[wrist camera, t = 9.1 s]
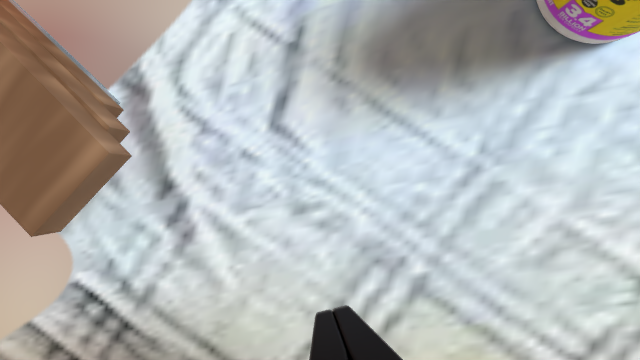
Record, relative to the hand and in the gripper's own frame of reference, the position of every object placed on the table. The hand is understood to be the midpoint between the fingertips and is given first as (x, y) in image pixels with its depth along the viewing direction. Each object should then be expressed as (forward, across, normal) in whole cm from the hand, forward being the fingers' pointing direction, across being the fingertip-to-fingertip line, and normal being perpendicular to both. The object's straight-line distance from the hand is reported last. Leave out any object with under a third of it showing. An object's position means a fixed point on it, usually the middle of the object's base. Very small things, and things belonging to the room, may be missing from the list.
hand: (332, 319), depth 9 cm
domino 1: (+10, +9, 0) cm, 13 cm away
